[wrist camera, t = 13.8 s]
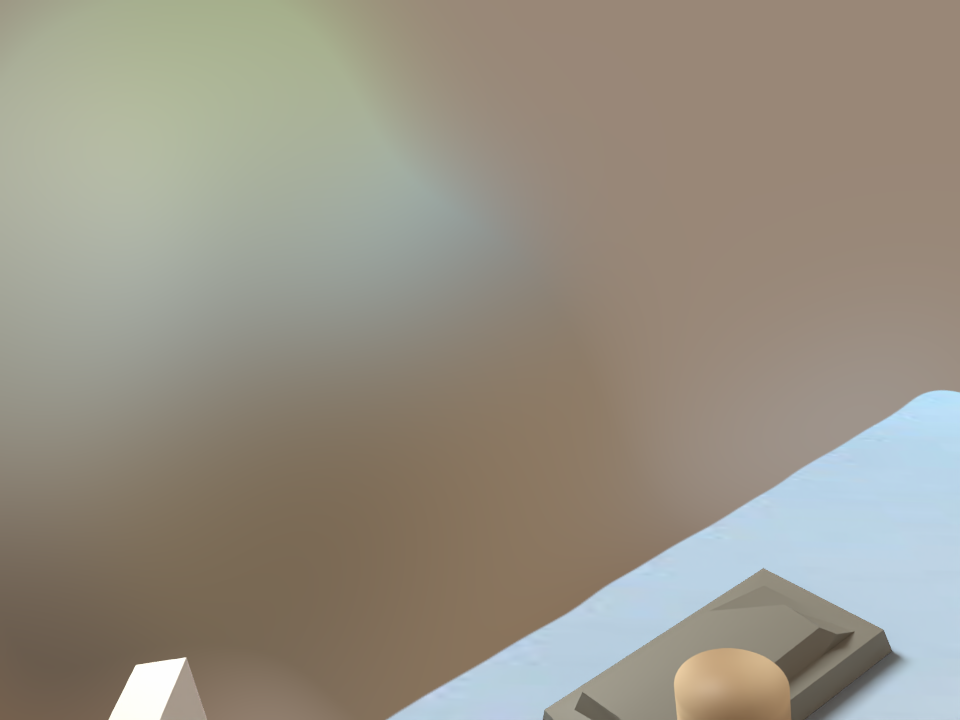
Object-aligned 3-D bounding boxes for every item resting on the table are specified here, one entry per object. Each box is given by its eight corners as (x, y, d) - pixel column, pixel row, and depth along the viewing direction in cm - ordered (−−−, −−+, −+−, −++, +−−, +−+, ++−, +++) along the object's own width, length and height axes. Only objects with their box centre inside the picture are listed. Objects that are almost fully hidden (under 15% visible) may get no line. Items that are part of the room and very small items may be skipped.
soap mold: (895, 659, 54) (896, 612, 53) (657, 846, 45) (651, 794, 44) (761, 588, 63) (759, 546, 62) (537, 733, 53) (529, 687, 52)
